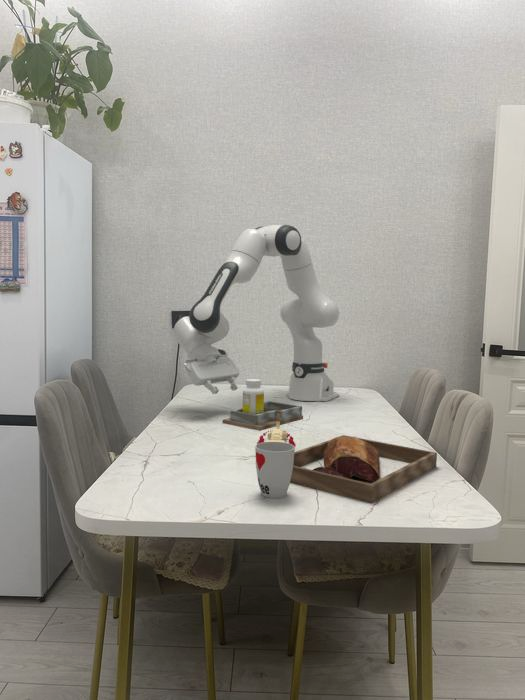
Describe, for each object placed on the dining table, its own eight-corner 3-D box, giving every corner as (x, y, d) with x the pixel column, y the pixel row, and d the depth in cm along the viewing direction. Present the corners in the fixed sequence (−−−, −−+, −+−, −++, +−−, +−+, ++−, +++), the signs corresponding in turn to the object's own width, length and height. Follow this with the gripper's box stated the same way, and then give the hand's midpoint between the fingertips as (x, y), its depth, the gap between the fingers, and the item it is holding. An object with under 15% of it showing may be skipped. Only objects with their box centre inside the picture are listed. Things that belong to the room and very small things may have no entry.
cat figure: (260, 443, 170) (254, 460, 145) (261, 412, 170) (255, 424, 145) (295, 444, 169) (295, 462, 144) (296, 413, 169) (296, 426, 144)
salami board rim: (343, 447, 161) (343, 435, 160) (436, 466, 145) (436, 452, 144) (268, 476, 135) (268, 461, 135) (371, 503, 119) (372, 486, 119)
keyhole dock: (267, 412, 206) (267, 400, 206) (303, 418, 197) (303, 406, 197) (222, 422, 188) (222, 410, 188) (259, 430, 179) (260, 417, 179)
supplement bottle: (264, 418, 191) (265, 378, 190) (262, 423, 185) (263, 381, 183) (243, 417, 192) (244, 378, 191) (241, 422, 185) (241, 381, 184)
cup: (253, 487, 127) (253, 441, 126) (290, 487, 128) (292, 441, 127) (255, 501, 119) (256, 451, 118) (296, 500, 120) (297, 451, 119)
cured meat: (300, 489, 127) (301, 458, 126) (306, 457, 152) (308, 431, 151) (386, 496, 125) (388, 465, 124) (378, 463, 150) (380, 436, 149)
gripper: (186, 354, 190) (209, 388, 185) (229, 350, 206) (250, 381, 201) (177, 367, 193) (198, 401, 188) (219, 362, 209) (240, 393, 204)
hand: (225, 391), depth 194 cm, fingers open, 8 cm apart
